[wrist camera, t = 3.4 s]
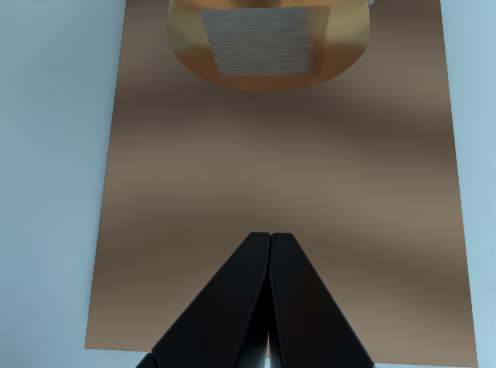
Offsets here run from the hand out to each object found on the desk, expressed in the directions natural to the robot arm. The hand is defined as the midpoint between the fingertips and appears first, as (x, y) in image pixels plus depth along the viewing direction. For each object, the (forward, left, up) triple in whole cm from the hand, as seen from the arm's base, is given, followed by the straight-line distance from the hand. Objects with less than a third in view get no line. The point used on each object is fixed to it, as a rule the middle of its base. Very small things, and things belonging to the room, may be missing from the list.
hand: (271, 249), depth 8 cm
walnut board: (+7, 0, -9) cm, 11 cm away
